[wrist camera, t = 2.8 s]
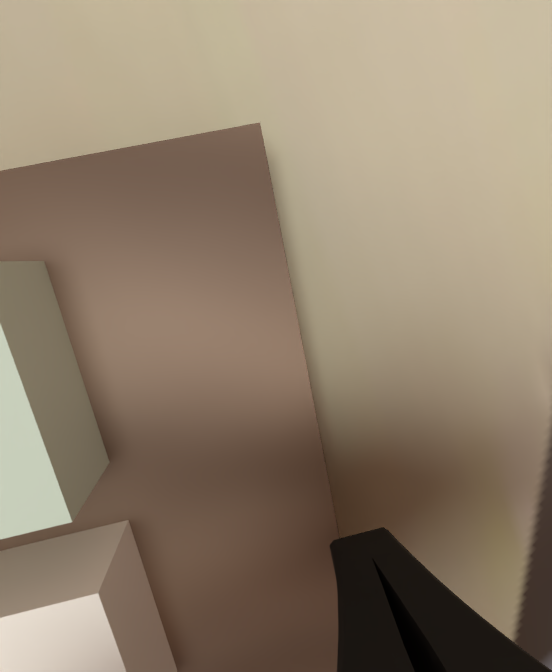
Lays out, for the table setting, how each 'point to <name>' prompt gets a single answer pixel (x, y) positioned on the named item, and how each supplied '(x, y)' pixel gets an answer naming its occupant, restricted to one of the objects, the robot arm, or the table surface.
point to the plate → (192, 389)
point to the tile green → (41, 409)
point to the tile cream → (80, 606)
